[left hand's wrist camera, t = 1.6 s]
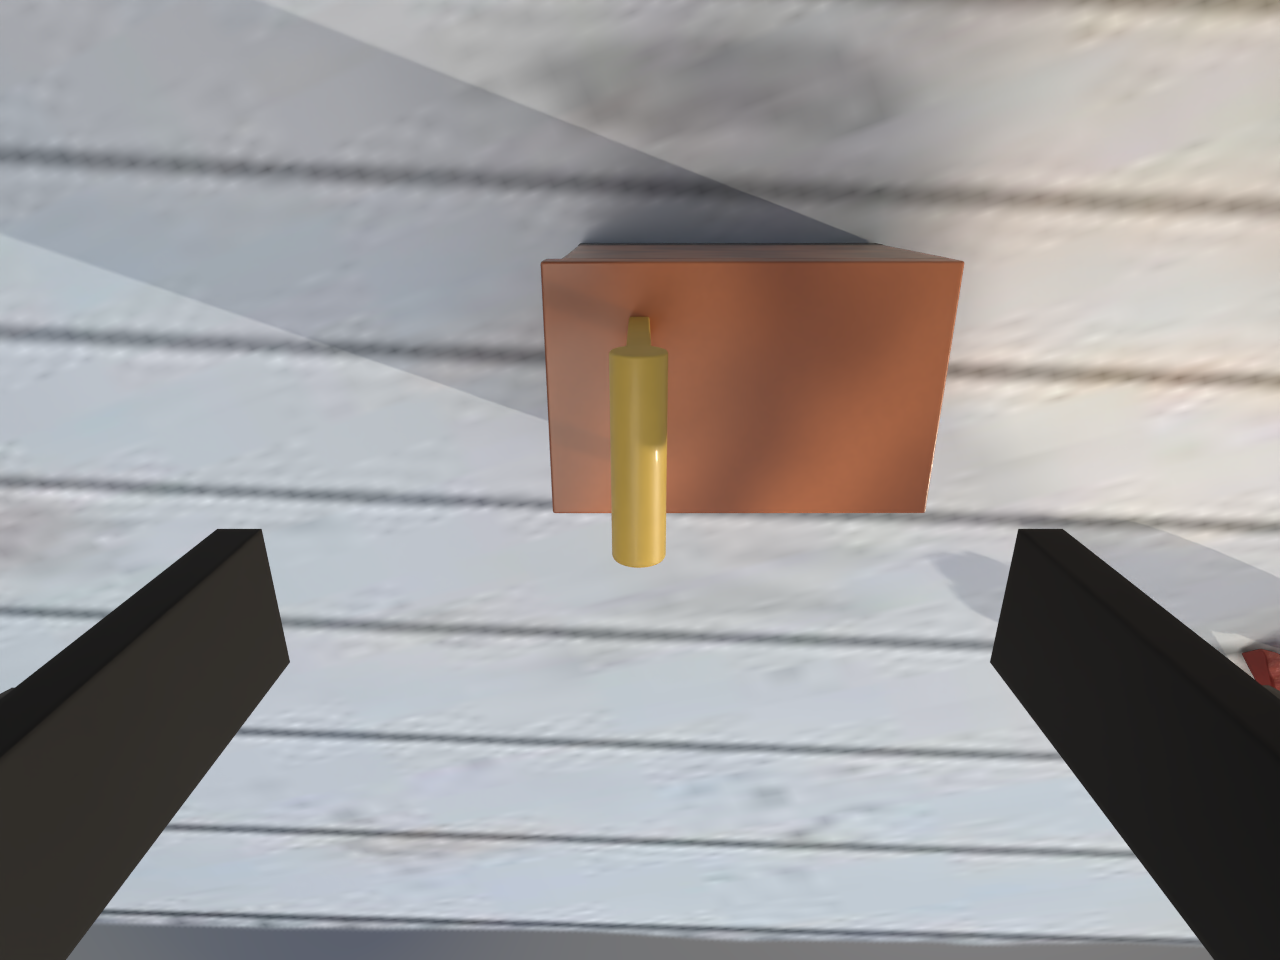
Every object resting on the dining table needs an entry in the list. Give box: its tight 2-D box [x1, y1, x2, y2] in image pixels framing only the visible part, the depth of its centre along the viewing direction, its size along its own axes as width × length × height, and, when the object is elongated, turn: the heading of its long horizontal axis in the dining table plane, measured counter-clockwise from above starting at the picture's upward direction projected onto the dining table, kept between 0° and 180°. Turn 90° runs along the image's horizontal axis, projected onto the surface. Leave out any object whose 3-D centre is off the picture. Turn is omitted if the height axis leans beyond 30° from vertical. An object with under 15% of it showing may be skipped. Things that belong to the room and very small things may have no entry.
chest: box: [563, 243, 949, 259], centre depth 31 cm, size 14×9×9 cm
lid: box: [541, 259, 964, 568], centre depth 23 cm, size 14×9×9 cm, turn 90°
